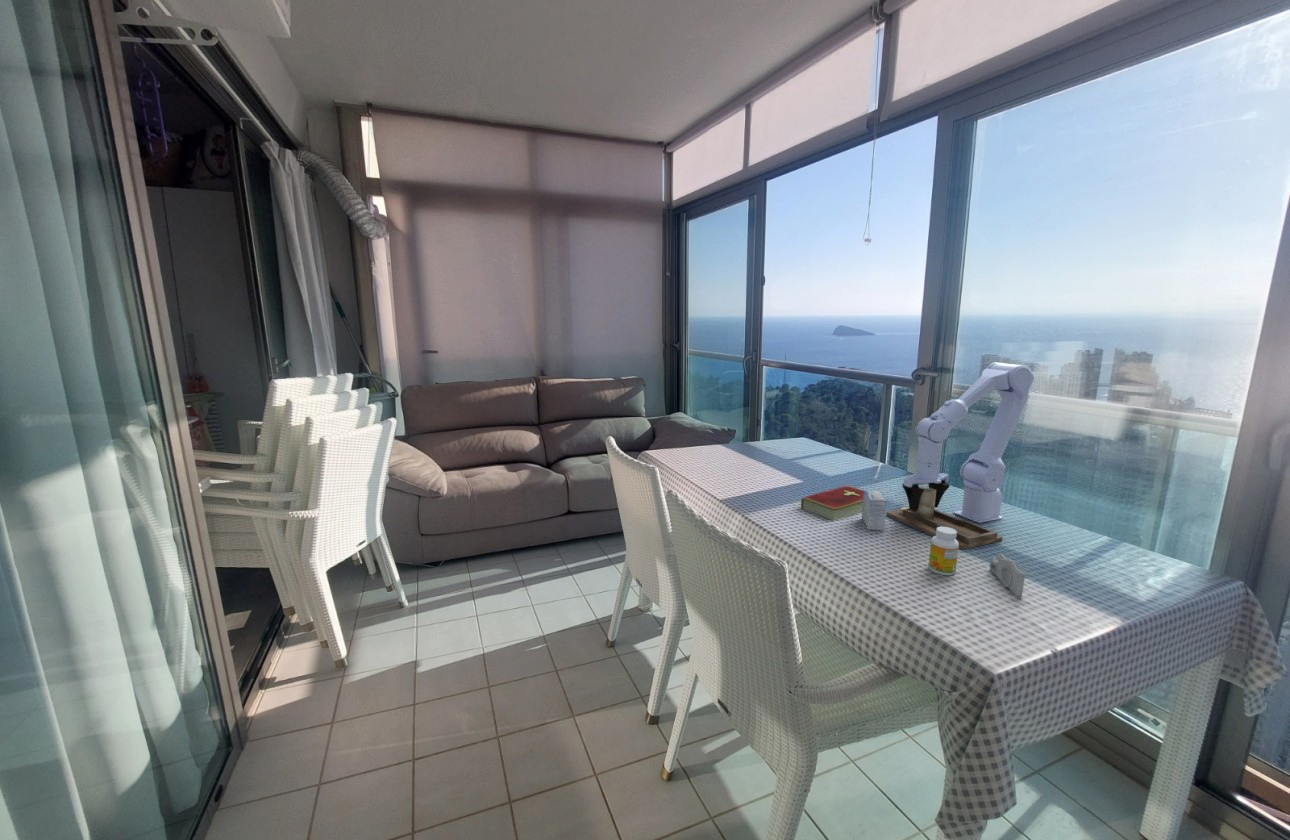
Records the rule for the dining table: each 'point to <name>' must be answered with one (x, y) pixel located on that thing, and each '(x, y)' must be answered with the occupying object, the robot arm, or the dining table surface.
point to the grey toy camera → (1008, 573)
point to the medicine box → (874, 510)
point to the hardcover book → (835, 502)
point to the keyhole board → (966, 530)
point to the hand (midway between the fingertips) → (923, 507)
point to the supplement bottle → (944, 551)
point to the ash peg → (927, 503)
